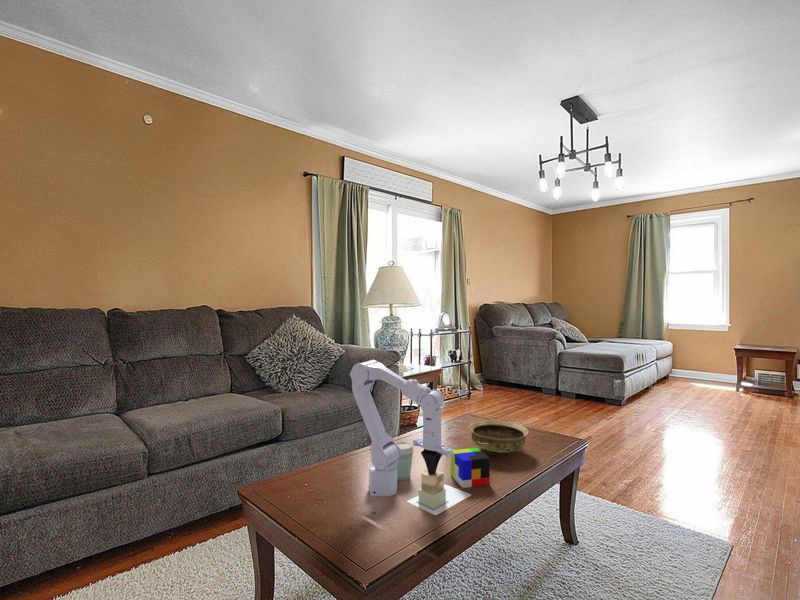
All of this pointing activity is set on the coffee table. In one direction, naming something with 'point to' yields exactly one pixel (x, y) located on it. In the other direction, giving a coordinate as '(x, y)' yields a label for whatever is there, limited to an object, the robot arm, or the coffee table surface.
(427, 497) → the sage base block
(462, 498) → the board
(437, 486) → the maple block
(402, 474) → the coffee cup
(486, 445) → the ceramic bowl
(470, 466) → the puzzle toy
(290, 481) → the coffee table surface
